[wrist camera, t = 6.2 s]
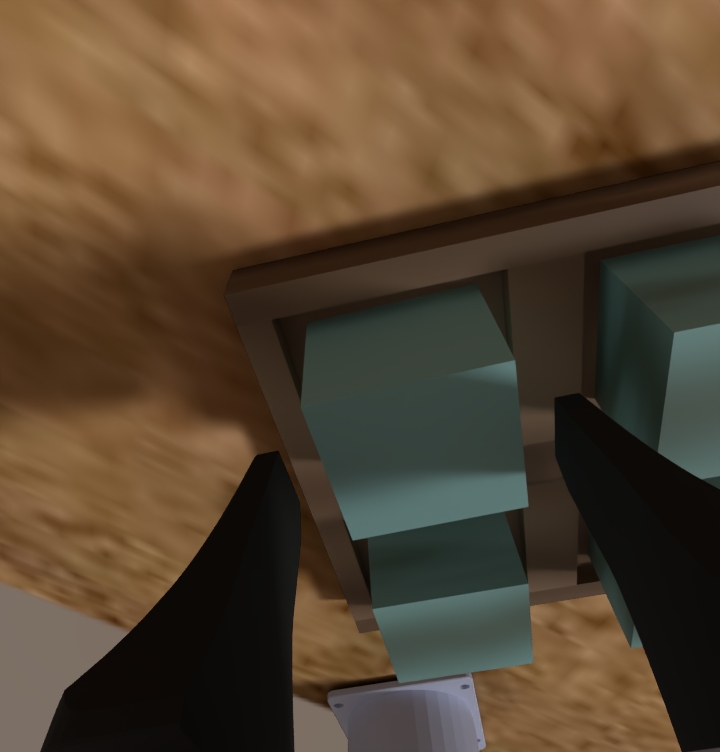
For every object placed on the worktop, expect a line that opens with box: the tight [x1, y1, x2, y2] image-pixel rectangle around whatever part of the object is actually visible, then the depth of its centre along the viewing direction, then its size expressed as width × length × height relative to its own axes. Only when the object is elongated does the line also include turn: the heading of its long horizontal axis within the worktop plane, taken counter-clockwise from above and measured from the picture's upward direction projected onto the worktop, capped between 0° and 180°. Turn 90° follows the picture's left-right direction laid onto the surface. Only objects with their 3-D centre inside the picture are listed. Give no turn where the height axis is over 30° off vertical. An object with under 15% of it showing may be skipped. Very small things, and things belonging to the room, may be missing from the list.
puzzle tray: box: [224, 161, 720, 683], centre depth 18 cm, size 17×17×5 cm
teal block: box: [301, 283, 529, 540], centre depth 15 cm, size 5×5×4 cm
